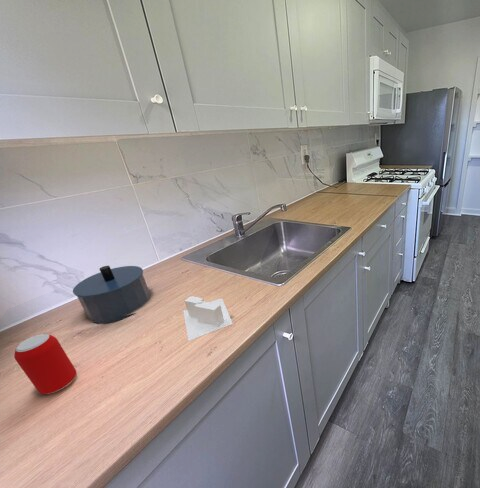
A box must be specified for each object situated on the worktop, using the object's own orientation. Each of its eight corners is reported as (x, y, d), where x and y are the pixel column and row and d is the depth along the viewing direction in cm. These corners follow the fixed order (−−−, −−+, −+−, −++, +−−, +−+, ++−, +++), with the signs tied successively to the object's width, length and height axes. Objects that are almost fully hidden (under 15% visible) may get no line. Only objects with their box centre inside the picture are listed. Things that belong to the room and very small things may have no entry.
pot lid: (61, 305, 69) (52, 288, 67) (90, 275, 84) (83, 261, 82) (134, 290, 74) (127, 274, 72) (150, 264, 88) (145, 251, 86)
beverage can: (78, 367, 61) (54, 326, 56) (78, 384, 57) (52, 342, 52) (42, 383, 58) (13, 341, 53) (39, 403, 53) (6, 359, 48)
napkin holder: (233, 323, 72) (229, 306, 70) (188, 341, 67) (182, 323, 65) (221, 297, 84) (217, 282, 82) (182, 310, 79) (177, 294, 76)
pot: (79, 330, 73) (63, 301, 70) (102, 299, 87) (91, 274, 83) (143, 315, 78) (132, 288, 74) (156, 288, 91) (147, 264, 88)
